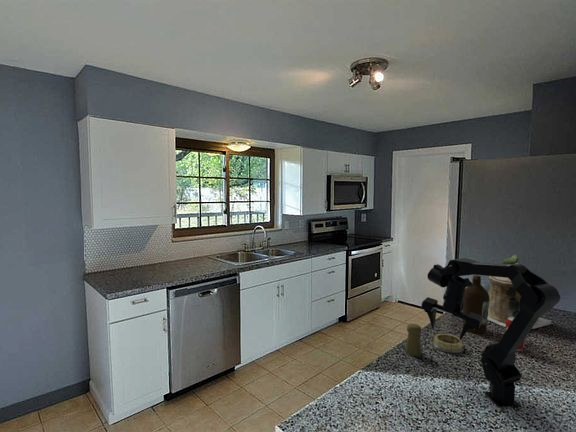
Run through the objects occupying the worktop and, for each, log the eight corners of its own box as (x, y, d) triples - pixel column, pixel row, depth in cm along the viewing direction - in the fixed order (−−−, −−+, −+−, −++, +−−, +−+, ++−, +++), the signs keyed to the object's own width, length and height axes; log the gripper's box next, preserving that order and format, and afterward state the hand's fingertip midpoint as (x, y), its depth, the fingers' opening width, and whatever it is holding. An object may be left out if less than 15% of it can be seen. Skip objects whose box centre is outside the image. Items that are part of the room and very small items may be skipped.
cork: (423, 357, 124) (424, 328, 124) (406, 355, 125) (407, 327, 125) (420, 349, 130) (420, 322, 129) (403, 348, 131) (404, 321, 131)
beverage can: (505, 349, 130) (507, 320, 130) (503, 343, 136) (505, 315, 135) (524, 353, 127) (526, 323, 127) (522, 346, 133) (523, 318, 132)
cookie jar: (470, 315, 167) (473, 253, 165) (500, 308, 178) (503, 250, 176) (521, 334, 145) (526, 262, 143) (553, 325, 155) (557, 258, 153)
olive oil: (457, 329, 150) (460, 275, 148) (465, 323, 157) (468, 271, 155) (483, 336, 142) (486, 280, 140) (490, 330, 149) (493, 275, 148)
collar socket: (469, 353, 127) (469, 345, 127) (441, 353, 127) (441, 345, 127) (453, 340, 138) (454, 333, 138) (428, 340, 138) (428, 333, 138)
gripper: (490, 295, 113) (480, 335, 117) (434, 278, 125) (427, 315, 129) (483, 306, 105) (473, 349, 109) (424, 286, 117) (417, 326, 120)
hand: (446, 333), depth 117 cm, fingers open, 9 cm apart
